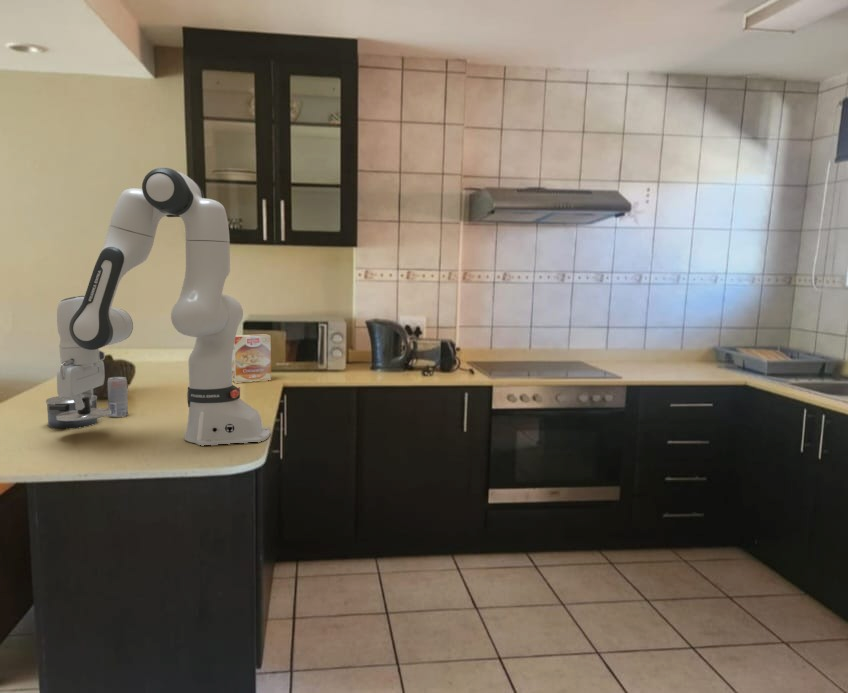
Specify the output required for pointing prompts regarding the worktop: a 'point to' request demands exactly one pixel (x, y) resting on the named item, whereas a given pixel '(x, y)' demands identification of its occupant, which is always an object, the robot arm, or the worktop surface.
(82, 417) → the lid
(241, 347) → the coffeecake box
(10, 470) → the worktop surface
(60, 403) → the pot
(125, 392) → the energy drink
